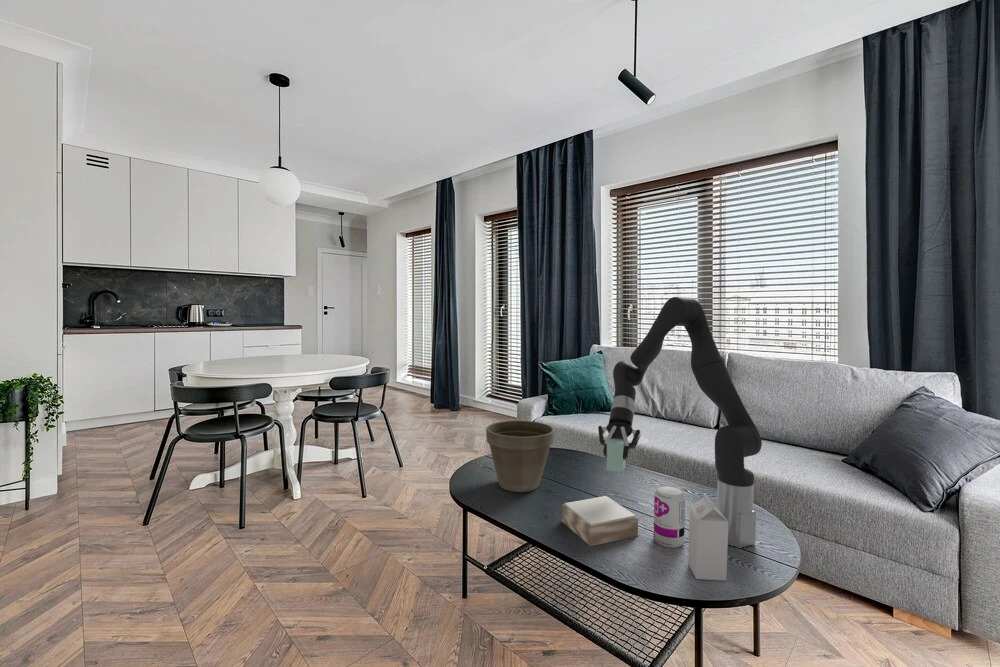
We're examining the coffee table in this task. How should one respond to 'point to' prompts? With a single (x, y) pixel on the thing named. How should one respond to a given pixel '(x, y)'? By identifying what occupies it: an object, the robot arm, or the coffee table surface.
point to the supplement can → (669, 516)
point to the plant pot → (519, 452)
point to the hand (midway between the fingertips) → (615, 457)
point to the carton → (615, 455)
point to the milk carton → (707, 541)
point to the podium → (599, 520)
